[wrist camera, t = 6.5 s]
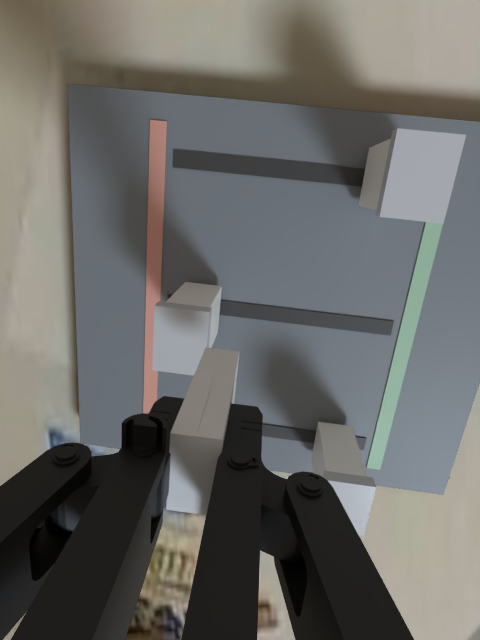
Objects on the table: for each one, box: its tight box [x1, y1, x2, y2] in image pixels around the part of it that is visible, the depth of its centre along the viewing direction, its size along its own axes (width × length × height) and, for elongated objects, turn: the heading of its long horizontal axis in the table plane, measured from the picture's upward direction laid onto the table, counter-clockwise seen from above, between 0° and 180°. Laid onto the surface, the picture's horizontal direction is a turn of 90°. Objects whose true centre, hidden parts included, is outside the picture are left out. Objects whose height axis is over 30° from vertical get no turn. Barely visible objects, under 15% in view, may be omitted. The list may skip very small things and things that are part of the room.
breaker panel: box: [68, 84, 480, 495], centre depth 28 cm, size 28×25×2 cm
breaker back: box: [311, 422, 376, 537], centre depth 26 cm, size 3×4×6 cm
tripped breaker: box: [152, 282, 222, 376], centre depth 24 cm, size 3×4×6 cm
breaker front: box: [358, 128, 466, 224], centre depth 20 cm, size 3×4×6 cm
